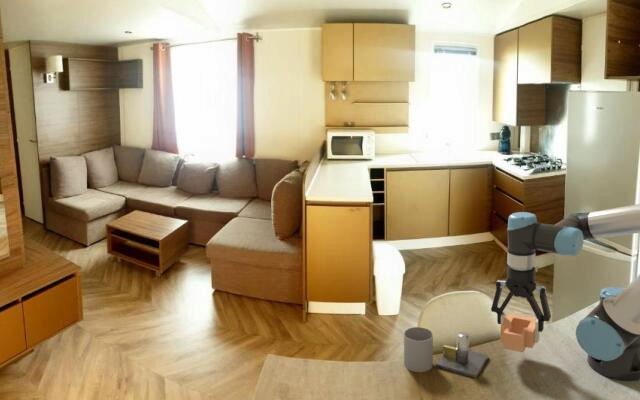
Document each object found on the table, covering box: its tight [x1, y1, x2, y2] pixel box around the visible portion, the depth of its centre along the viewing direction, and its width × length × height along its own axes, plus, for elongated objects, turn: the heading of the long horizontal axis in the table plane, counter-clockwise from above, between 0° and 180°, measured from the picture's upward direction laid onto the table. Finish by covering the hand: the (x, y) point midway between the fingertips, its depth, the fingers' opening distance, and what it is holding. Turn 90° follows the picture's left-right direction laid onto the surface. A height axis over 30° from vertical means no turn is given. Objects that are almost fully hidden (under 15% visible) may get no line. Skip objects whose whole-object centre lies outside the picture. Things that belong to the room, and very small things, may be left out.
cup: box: [403, 326, 434, 373], centre depth 158 cm, size 8×8×10 cm
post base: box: [435, 331, 489, 379], centre depth 158 cm, size 12×12×9 cm
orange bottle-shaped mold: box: [499, 313, 537, 353], centre depth 157 cm, size 12×9×5 cm
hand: (519, 337), depth 159 cm, fingers closed on orange bottle-shaped mold, 9 cm apart
